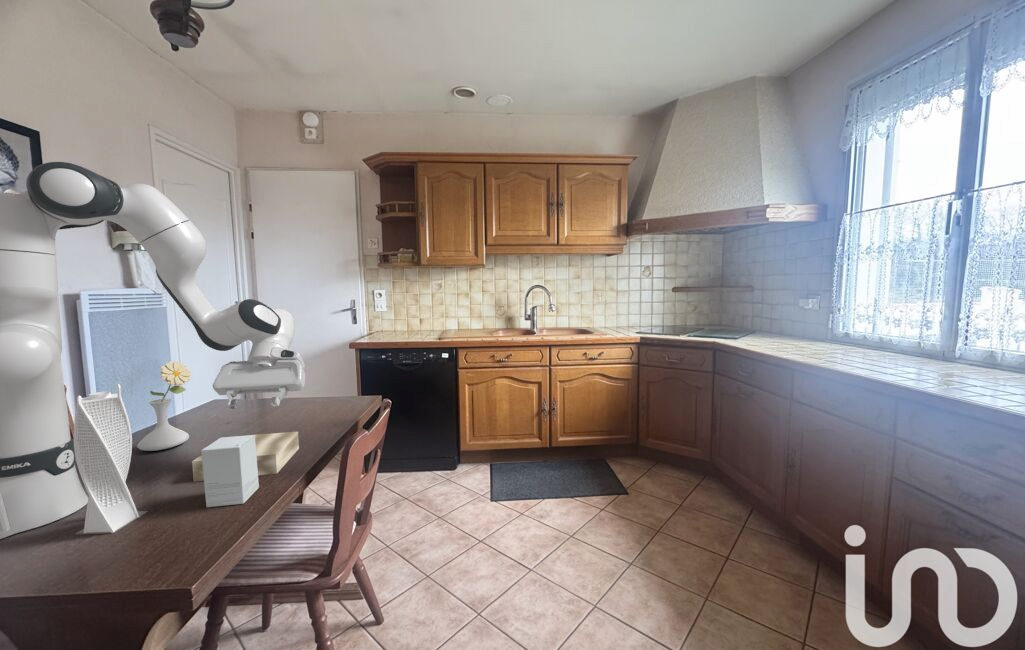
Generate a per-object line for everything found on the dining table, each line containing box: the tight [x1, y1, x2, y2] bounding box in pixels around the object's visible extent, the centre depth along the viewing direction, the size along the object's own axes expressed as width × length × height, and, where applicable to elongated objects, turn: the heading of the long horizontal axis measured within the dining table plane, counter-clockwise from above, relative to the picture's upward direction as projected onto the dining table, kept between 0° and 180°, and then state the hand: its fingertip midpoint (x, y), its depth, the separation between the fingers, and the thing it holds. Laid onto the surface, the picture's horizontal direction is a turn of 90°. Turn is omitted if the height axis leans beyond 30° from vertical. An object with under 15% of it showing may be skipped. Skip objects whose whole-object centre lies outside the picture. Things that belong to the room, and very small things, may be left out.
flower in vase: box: [136, 361, 192, 452], centre depth 112 cm, size 13×11×25 cm
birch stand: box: [191, 431, 300, 482], centre depth 100 cm, size 18×16×5 cm
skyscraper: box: [73, 383, 148, 535], centre depth 73 cm, size 8×8×28 cm
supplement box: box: [200, 434, 260, 508], centre depth 83 cm, size 7×7×13 cm
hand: (253, 406), depth 94 cm, fingers open, 8 cm apart
